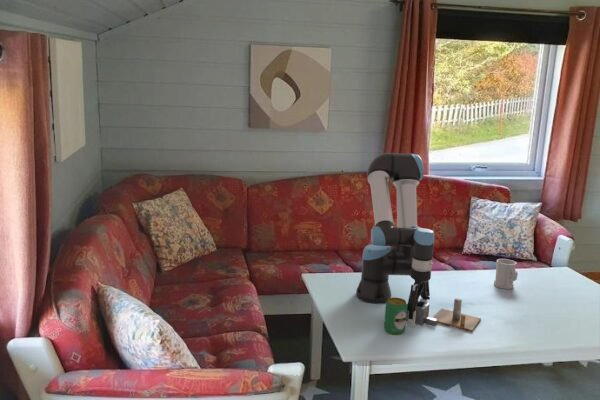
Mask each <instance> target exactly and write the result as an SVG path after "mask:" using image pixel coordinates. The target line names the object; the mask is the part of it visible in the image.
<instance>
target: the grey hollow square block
mask: <svg viewBox="0 0 600 400" xmlns="http://www.w3.org/2000/svg"><path fill="white" fill-rule="evenodd" d="M430 305H431V304H430V302H427V303H426V302H422V301H420V300H418V302H417V305H416V309H415V311H416V316H415V326H416V325H417V326H419V327H420V326H421V327H423V326H424V325H429V326H431V327H434V328H435V327H436V326H437V325H438V323H437V319H435V318H433V317H431V316H429V314H430ZM407 322H408V310H407V317H406V323H407Z"/></svg>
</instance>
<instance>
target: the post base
mask: <svg viewBox="0 0 600 400" xmlns="http://www.w3.org/2000/svg"><path fill="white" fill-rule="evenodd" d="M462 302H463V300H462V299H461V298H454V301H453V310H449V309H444V308H440V309H439V310H438V311H437V313H436V314H435V315H434V316H433V317H432V318H435V319H437V325H438V324H439V325H442V326H446V327H451V328H453V329H458V330H461V331H465V332H469V333H473V331H475V329H476V328H477V326H478V325H479V324H480V322H481V321H482V318H481V317H478V316H472V315H469V314H466V313H461V311H462Z"/></svg>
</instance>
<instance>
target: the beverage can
mask: <svg viewBox="0 0 600 400" xmlns="http://www.w3.org/2000/svg"><path fill="white" fill-rule="evenodd" d="M407 304H408V302H407V301H406V300H405V299H404V298H400V297H391V298H389V299H388V301H387V302H385V311H384V322H383V323H384V324H383V329H384V331H385V332H386V333H387V334H390V335H393V336H401V335H403V334H404V333H405V332H406V328H407V322H406V317H407Z"/></svg>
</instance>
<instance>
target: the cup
mask: <svg viewBox="0 0 600 400" xmlns="http://www.w3.org/2000/svg"><path fill="white" fill-rule="evenodd" d="M517 264H518V263H517V262H516V261H515V260H511V259H507V258H498V259H496V265H495V266H496V269H495V280H493V281H494V282H493V285H494V287H497V288H499V289H503V290H511V289H513V288H514V286H515V284H514V282H515V281H517V278H518V276H519V275H518V271H517V270H516V268H517Z"/></svg>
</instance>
